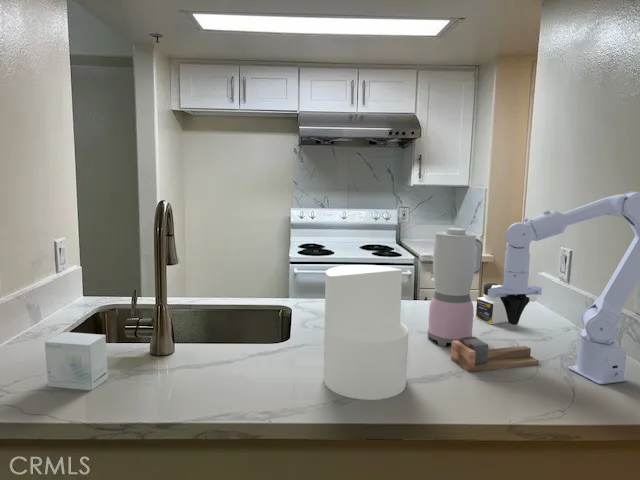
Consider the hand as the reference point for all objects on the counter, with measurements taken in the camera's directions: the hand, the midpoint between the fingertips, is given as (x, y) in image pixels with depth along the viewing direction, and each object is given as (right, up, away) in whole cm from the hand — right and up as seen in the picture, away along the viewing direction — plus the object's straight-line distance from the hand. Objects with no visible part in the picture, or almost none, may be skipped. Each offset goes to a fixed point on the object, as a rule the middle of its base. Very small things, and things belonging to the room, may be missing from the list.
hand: (512, 323), depth 118 cm
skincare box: (-102, -11, -15) cm, 104 cm away
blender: (-10, -8, +16) cm, 21 cm away
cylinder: (-39, -11, -12) cm, 42 cm away
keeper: (-11, -9, -2) cm, 14 cm away
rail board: (-5, -10, 0) cm, 11 cm away
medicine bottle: (+7, -5, +34) cm, 36 cm away
